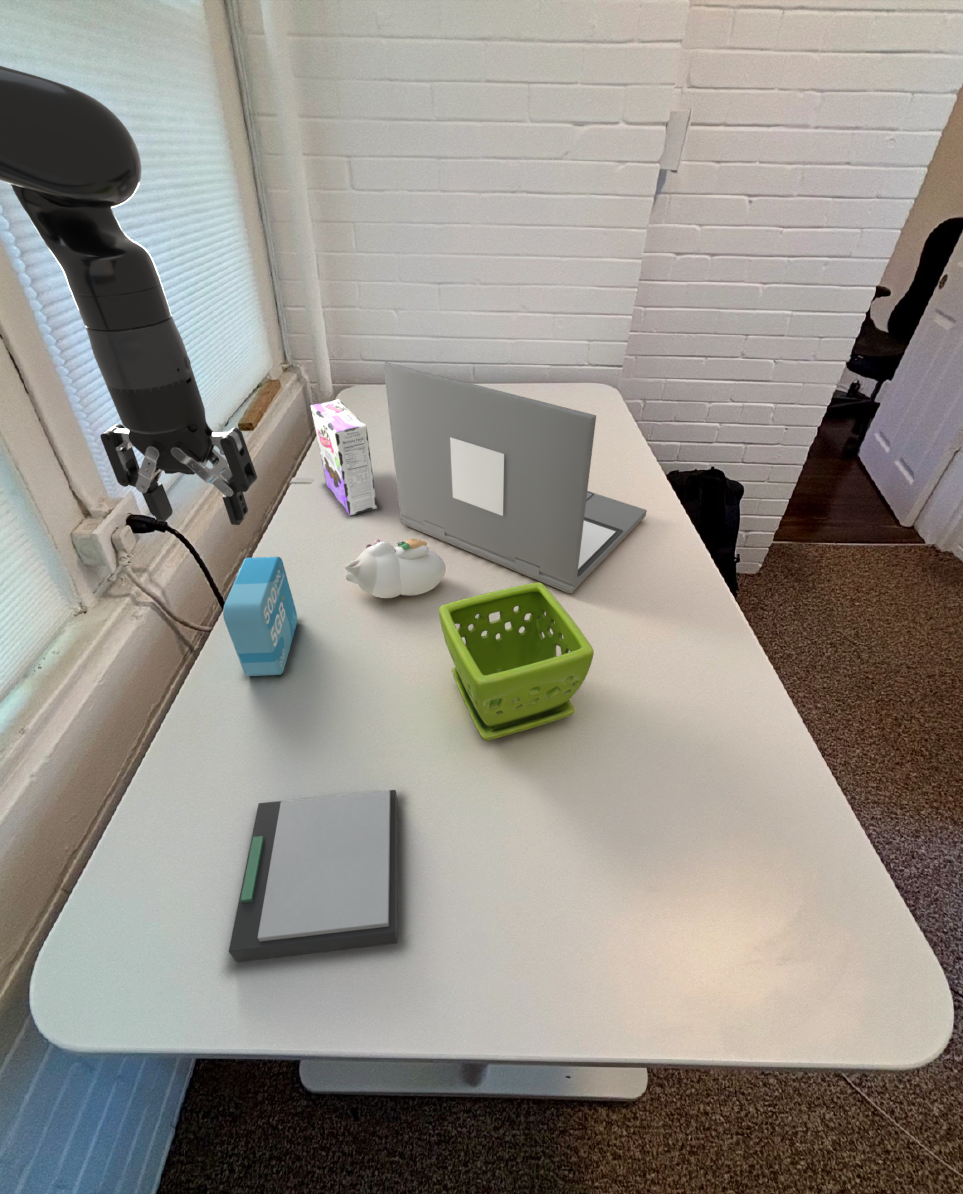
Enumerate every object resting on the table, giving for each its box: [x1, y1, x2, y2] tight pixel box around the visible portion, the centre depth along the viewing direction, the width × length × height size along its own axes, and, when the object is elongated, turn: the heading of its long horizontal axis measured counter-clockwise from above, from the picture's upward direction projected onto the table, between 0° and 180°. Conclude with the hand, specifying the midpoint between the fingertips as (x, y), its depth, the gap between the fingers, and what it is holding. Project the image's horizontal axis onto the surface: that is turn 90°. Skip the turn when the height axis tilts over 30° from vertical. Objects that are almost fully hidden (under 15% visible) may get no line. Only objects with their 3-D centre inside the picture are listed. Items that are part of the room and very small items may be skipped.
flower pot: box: [438, 581, 595, 741], centre depth 70 cm, size 14×14×13 cm
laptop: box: [383, 361, 648, 594], centre depth 96 cm, size 35×26×28 cm
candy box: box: [310, 398, 378, 516], centre depth 108 cm, size 14×6×16 cm, turn 30°
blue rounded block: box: [222, 556, 298, 677], centre depth 78 cm, size 12×4×12 cm, turn 3°
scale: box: [228, 789, 399, 963], centre depth 56 cm, size 14×14×3 cm
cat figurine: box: [344, 538, 446, 599], centre depth 88 cm, size 10×8×15 cm
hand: (202, 519), depth 65 cm, fingers open, 8 cm apart
